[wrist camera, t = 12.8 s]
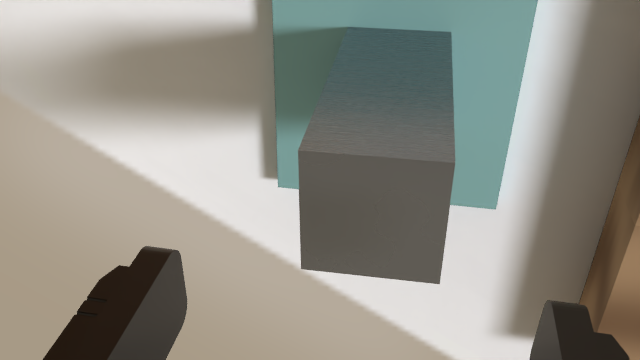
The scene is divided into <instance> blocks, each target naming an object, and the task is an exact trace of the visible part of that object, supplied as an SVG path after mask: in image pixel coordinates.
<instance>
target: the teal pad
mask: <svg viewBox="0 0 640 360" xmlns="http://www.w3.org/2000/svg"><path fill="white" fill-rule="evenodd" d="M537 2H538V0H272V11H273V43H274V74H275V106H276V137H277V169H278V187H283V188H293V189H299V170H298V149H299V146H300V144H301V142H302V139H303V137H304V134H305V132H306V129H307V127H308V124H309V122H310V119H311V117H312V115H313V112H314V110H315V107H316V105H317V102H318V100H319V97H320V95H321V92H322V90H323V88H324V85H325V83H326V80H327V78H328V75H329V73H330V70H331V68H332V66H333V63H334V61H335V58H336V56H337V53H338V51H339V48H340V46H341V43H342V41H343V39H344V36H345V34H346V31H347V29H348V27H364V28H384V29H404V30H424V31H443V32H451V35H452V68H453V100H454V133H455V170H454V177H453V185H452V193H451V200H450V205H458V206H467V207H477V208H487V209H496V206H497V201H498V196H499V191H500V186H501V181H502V176H503V171H504V166H505V161H506V156H507V151H508V146H509V141H510V136H511V131H512V126H513V121H514V116H515V111H516V106H517V101H518V96H519V91H520V87H521V82H522V77H523V72H524V67H525V62H526V57H527V52H528V47H529V42H530V37H531V32H532V27H533V22H534V17H535V12H536V7H537Z"/></svg>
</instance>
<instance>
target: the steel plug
mask: <svg viewBox="0 0 640 360" xmlns="http://www.w3.org/2000/svg"><path fill="white" fill-rule="evenodd" d="M298 170H299V206H300V242H301V269H306V270H315V271H324V272H334V273H343V274H352V275H361V276H370V277H379V278H389V279H398V280H407V281H416V282H425V283H434V284H440V276H441V268H442V261H443V253H444V246H445V238H446V231H447V223H448V215H449V208H450V200H451V193H452V185H453V177H454V170H455V133H454V100H453V68H452V35H451V32H443V31H424V30H404V29H384V28H364V27H348V29H347V31H346V34H345V36H344V39H343V41H342V43H341V46H340V48H339V51H338V53H337V56H336V58H335V61H334V63H333V66H332V68H331V70H330V73H329V75H328V78H327V80H326V83H325V85H324V88H323V90H322V92H321V95H320V97H319V100H318V102H317V105H316V107H315V110H314V112H313V115H312V117H311V119H310V122H309V124H308V127H307V129H306V132H305V134H304V137H303V139H302V142H301V144H300V146H299V149H298Z"/></svg>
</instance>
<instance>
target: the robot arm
mask: <svg viewBox="0 0 640 360" xmlns="http://www.w3.org/2000/svg"><path fill="white" fill-rule="evenodd" d="M186 310H187V296H186V288H185V282H184V275H183V268H182V261H181V255H180V253H179V251H178V250H172V249H165V248H157V247H150V246H145V247H143V248H142V249H141V250H140V252H139V253H138V255H137V256H136V258H135V259H134V261H133V262H132V264H131V265H130V267H127V266H120V265H119V266H118V267H116V268H115V269H114V270H112V271H111V272H109V273H108V274H107V275H105V276H104V277H102V278H101V279H100V280H99V281H98V283H97V284H96V285H95V287H94V288H93V290H92V291H91V292H90V294H89V295H88V297H87V300H85V301H84V302H83V304H82V305H81V306H80V308H79V309H78V311H77V315H74V316H73V318H72V319H71V321H70V322H69V323H68V325H67V326H66V328H65V329H64V330H63V332H62V333H61V335H60V336H59V337H58V339H57V340H56V342H55V343H54V345H53V346H52V347H51V349H50V350H49V351H48V353H47V354H46V356H45V357H44V358H43V360H166V358H167V356H168V354H169V352H170V350H171V348H172V346H173V344H174V342H175V340H176V338H177V336H178V334H179V332H180V330H181V328H182V325H183V323H184V320H185V315H186ZM530 360H630V359H629V356H628V355H627V353H626V352H625V351H624V349H623V348H622V347H621V346H620V344H619V343H618V342H617V341H616V339H615V338H614V337H613V336H612V334H605V333H597V332H594V330H593V326H592V322H591V319H590V315H589V311H588V308H587V307H586V306H585V305H581V304H573V303H565V302H558V301H550V300H548V301H547V302H546V303H545V305H544V308H543V312H542V315H541V319H540V322H539V325H538V329H537V332H536V336H535V339H534V342H533V346H532V349H531V354H530Z"/></svg>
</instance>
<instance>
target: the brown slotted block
mask: <svg viewBox="0 0 640 360" xmlns="http://www.w3.org/2000/svg"><path fill="white" fill-rule="evenodd" d="M579 304H581V305H585V306H586V307H587V308H588V311H589V315H590V319H591V322H592V326H593V330H594V332H597V333H605V334H612V336H613V337H614V338H615V339H616V341H617V342H618V343H619V344H620V346H621V347H622V348H623V349H624V351H625V352H626V353H627V355H628V356H629V359H630V360H640V116H639V119H638V123H637V126H636V129H635V132H634V135H633V138H632V141H631V144H630V147H629V150H628V153H627V157H626V160H625V163H624V166H623V169H622V172H621V175H620V178H619V181H618V184H617V188H616V191H615V194H614V197H613V200H612V203H611V206H610V209H609V212H608V215H607V219H606V222H605V225H604V228H603V231H602V234H601V237H600V240H599V243H598V246H597V249H596V253H595V256H594V259H593V262H592V265H591V268H590V271H589V274H588V277H587V280H586V284H585V287H584V290H583V293H582V296H581V299H580V302H579Z"/></svg>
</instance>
